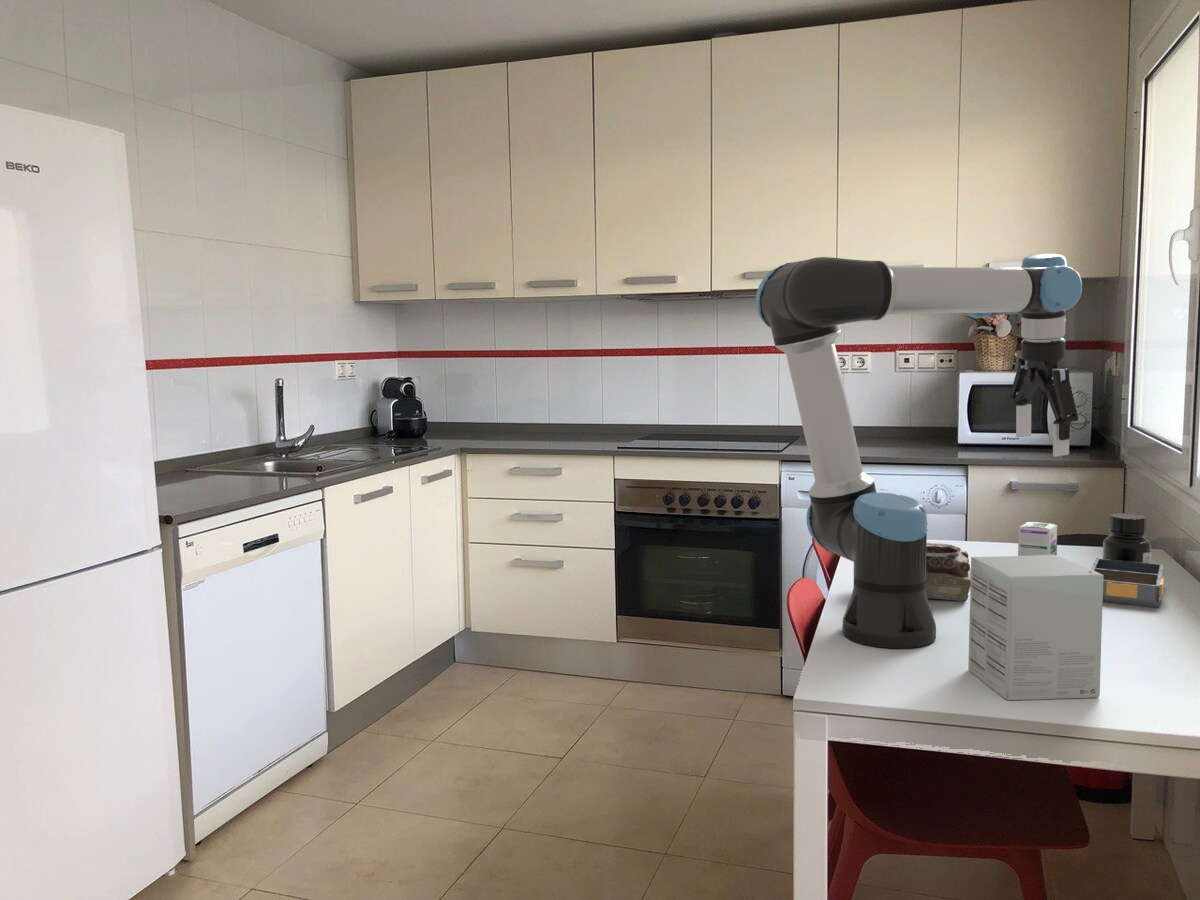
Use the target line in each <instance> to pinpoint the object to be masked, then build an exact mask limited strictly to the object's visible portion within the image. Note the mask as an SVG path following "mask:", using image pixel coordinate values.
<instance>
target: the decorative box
mask: <svg viewBox="0 0 1200 900" xmlns="http://www.w3.org/2000/svg"><path fill="white" fill-rule="evenodd" d="M970 585H971V563H970V560H969V553H968V552H967V551H966V550H965V549H961V547H958V546H956V545H953V544H947V543H933V542H931V543H930V542H927V546H926V596H927V599H930V600H931V599H935V600H947V601H959V602H966V601H968V599H969V593H970Z"/></svg>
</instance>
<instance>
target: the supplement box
mask: <svg viewBox="0 0 1200 900" xmlns="http://www.w3.org/2000/svg"><path fill="white" fill-rule="evenodd" d="M970 569H971V585H970V590H969V593H970V596H969V629H968V631H969V632H968V662H967V663H968V670H969V671H970V672H971V673H972V674H974V675H975V676H976V677H977V678H978V679H980V680H981V681H982V682H983V683H985V684H986V685H987V686H988V687H990V689H992V690H993V691H994V692H996V693H997V694H998V695H999V696H1001V698H1003V699H1004V700H1005V701H1032V700H1061V699H1062V700H1063V699H1064V700H1067V699H1068V700H1069V699H1088V698H1089V699H1090V698H1091V699H1092V698H1099V697H1100V696H1101V695H1100V694H1101V663H1102V661H1101V660H1102V658H1101V657H1102V635H1103V634H1102V630H1103V629H1102V628H1103V624H1102V623H1103V603H1104V602H1103V577H1104V575H1102V574H1100V573H1098V572H1096V571H1093V570H1091V568H1089V567H1086V566H1083V565H1080V564H1079V563H1076V562H1075V561H1071V560H1069V559H1067V558H1064V557H1062V556H1059V555H1031V556H1018V555H1005V556H1002V555H1001V556H971V557H970Z"/></svg>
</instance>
